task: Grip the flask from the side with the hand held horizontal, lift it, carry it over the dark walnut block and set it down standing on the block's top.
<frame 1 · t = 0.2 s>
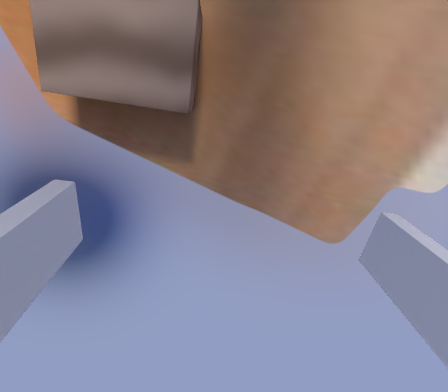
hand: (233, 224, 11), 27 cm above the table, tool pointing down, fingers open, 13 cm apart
walnut block: (136, 55, 31), on the table
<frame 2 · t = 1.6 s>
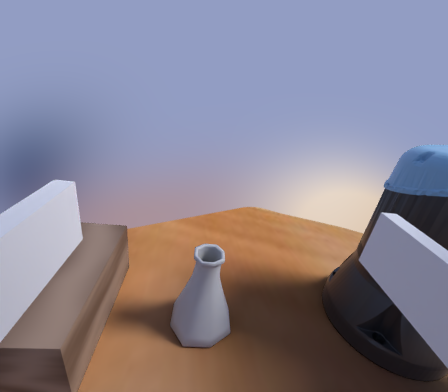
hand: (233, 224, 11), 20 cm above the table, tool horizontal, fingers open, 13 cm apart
flask: (200, 320, 29), on the table
walnut block: (57, 314, 27), on the table
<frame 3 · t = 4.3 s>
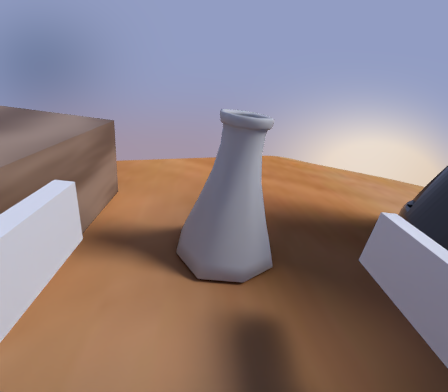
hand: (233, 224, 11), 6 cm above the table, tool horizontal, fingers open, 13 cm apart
flask: (223, 252, 18), on the table
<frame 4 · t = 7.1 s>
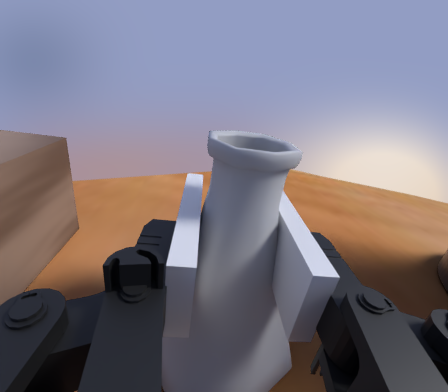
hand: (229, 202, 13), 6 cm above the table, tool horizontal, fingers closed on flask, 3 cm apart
flask: (216, 334, 13), on the table, touching gripper
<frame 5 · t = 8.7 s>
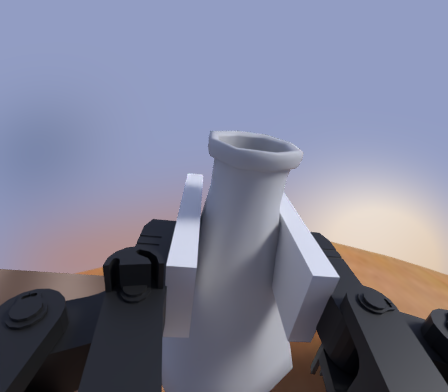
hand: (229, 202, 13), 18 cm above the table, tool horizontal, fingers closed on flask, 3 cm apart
flask: (217, 334, 13), point 12 cm above the table, touching gripper
when the fingers open (15 cm above the table, at t = 10.6 s): flask drops 2 cm, resting on walnut block.
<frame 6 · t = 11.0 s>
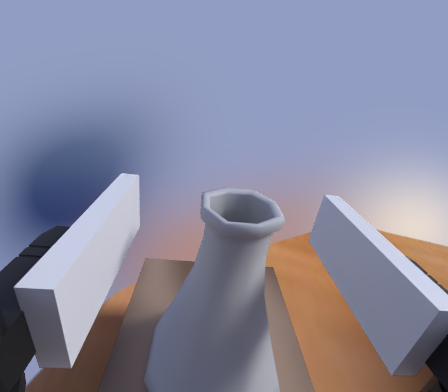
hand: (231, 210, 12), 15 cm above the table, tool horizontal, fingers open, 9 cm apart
flask: (211, 363, 14), point 7 cm above the table, touching walnut block
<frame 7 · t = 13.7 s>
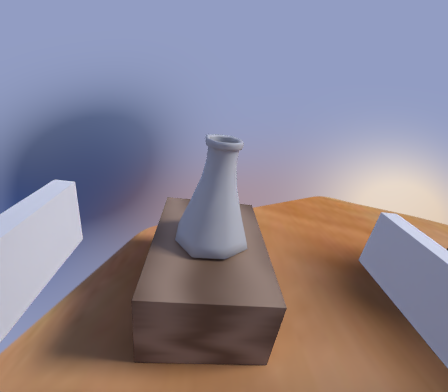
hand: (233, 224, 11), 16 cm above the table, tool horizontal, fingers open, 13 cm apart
flask: (210, 239, 24), point 7 cm above the table, touching walnut block
walnut block: (204, 288, 27), on the table
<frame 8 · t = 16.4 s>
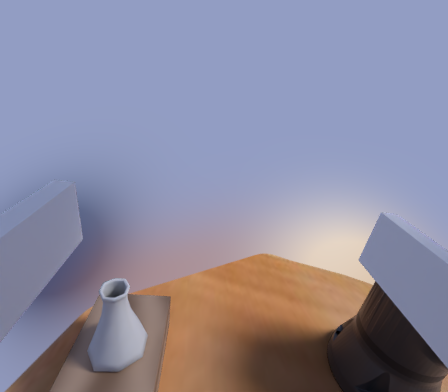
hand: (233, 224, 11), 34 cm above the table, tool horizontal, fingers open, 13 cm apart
flask: (119, 345, 32), point 7 cm above the table, touching walnut block
walnut block: (121, 374, 34), on the table
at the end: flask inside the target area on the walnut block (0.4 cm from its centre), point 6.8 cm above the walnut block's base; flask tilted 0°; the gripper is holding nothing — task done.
